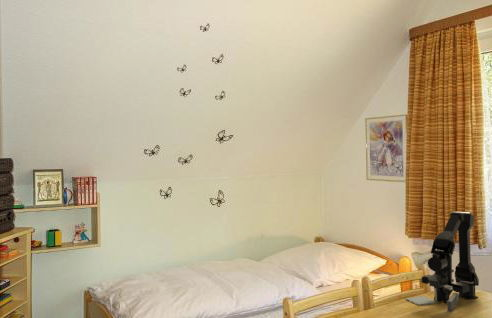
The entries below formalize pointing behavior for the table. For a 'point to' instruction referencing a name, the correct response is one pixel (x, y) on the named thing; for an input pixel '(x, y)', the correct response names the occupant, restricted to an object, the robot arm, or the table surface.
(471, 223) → the robot arm
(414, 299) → the mat
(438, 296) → the battery
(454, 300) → the grey rectangular bar
